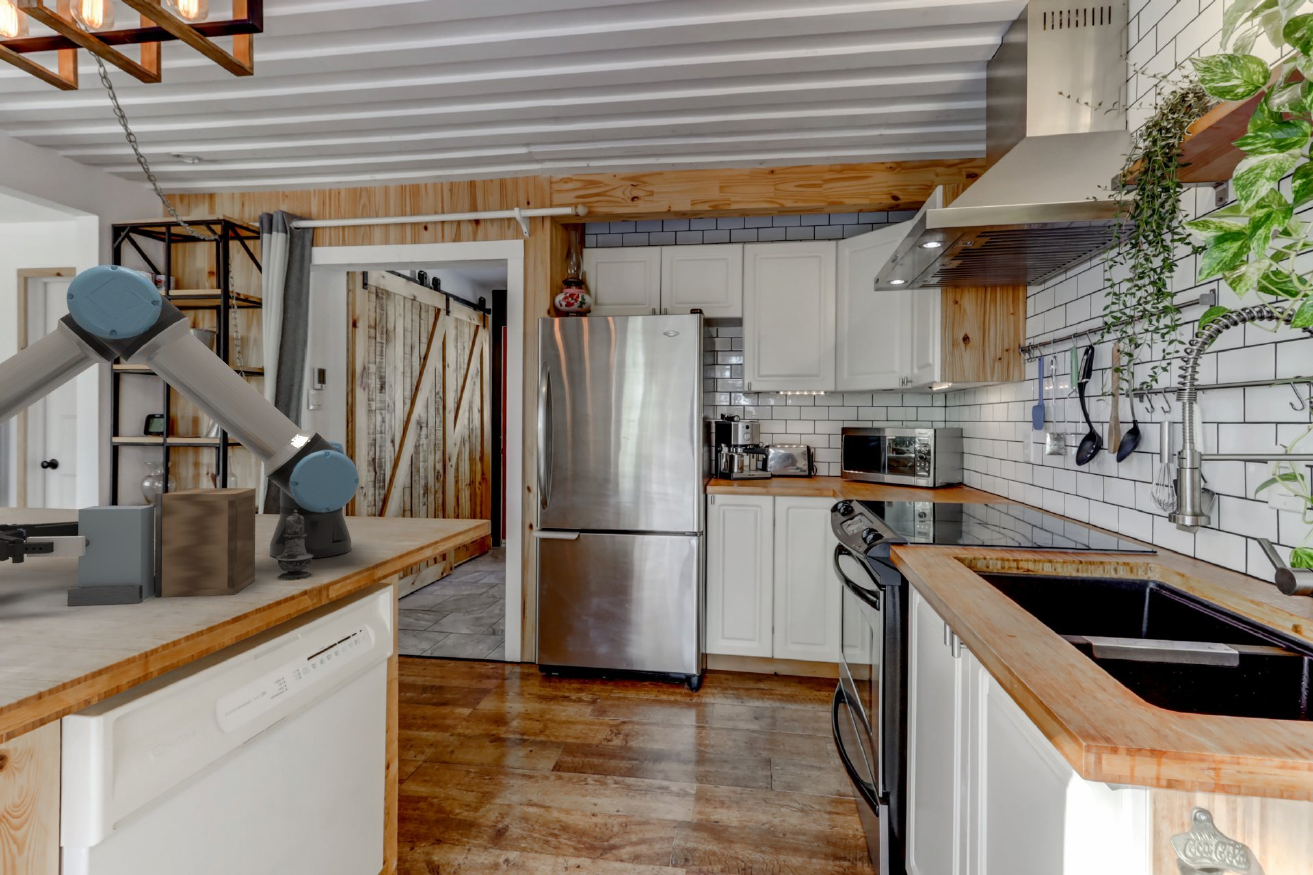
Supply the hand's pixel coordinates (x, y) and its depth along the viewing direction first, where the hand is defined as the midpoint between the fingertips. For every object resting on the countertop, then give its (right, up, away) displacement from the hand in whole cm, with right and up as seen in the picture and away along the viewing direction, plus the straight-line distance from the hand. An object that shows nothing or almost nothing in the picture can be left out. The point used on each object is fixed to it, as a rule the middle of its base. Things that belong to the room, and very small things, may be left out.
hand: (111, 537), depth 99 cm
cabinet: (+10, -9, +7) cm, 16 cm away
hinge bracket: (+1, -9, +1) cm, 9 cm away
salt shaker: (+19, -10, +16) cm, 27 cm away
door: (0, -9, +1) cm, 9 cm away
